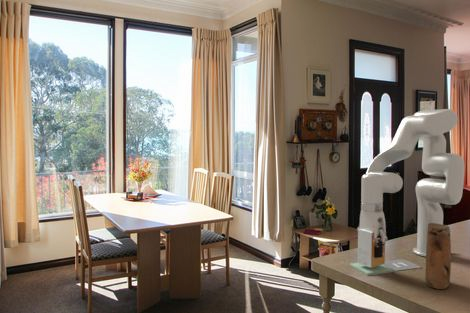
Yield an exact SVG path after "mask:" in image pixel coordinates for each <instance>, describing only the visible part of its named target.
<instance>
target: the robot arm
mask: <svg viewBox="0 0 470 313" xmlns="http://www.w3.org/2000/svg"><path fill="white" fill-rule="evenodd" d="M458 120H459V118H458V115H457V112H456V111H454V110H453V109H449V108H442V109H425V110H419V111H417V112H414V114H413V115H408V116H405V117H404V118H402V119H401V122H400V124H399V125H398V128H397V130H396V132H395V133H394V134H395V135H394V136H393V138H392V140H391V143H390V145H389V146H388V147H387V148H386V149H384V150H382V151H381V152H380V153H378V154H377V155H376V156H375V157H374V158H373V159H372V161H371V162H370V164H369V165H368V168H367V170H366V172H365V174H363V175H362V176H361V179H360V180H361V182H360V183H361V188H360V189H361V190H360V191H361V194H360V196H361V198H360V199H361V200H360V202H361V203H360V214H359V224H358V227H356V230H357V231H358V230H359V229H365V230H368V231H370V232H373V237H374V240H375V245H376V247H374V257H375V258H379V257H383V247H384V244H385V245H386V242H387V241H388V237H387V231H386V227H387V225H386V218H385V213H384V211H383V207H384V206H383V202H384V197H383V196H384V193H389V194H395V193H397V192H400V190H401V189H402V188H403V184H404V180H403V178H402V177H401V176H400V175H399V174H397V173H395V172H386V171H384V170H386V169H387V167H389V166H391V165H393V164H395V163H397V162H400V161H402V160H405V159H408V158H409V157H411V156H412V154H413V152H414V150H415V148H416V145H417V144H418V141H419V139H420V138H422V142H423V144H422V146H423V147H422V156H421V157H422V159H421V169H422V172H423V173H424V174H425V175H428V176H429V175H430V176H435V177H445V179H441V178H431V177H430V178H429V177H427V178H422V179H420V180H419V181H417V182H416V185H415V194H416V202H417V235H416V236H417V237H416V238H417V240H416V241H417V243H416V246H415V247H413V249H412V252H413V253H414V254H415V255H417V256H420V257H426V246H427V228H428V224H429V223H437V224H441V225H444V211H443V208H442V206H441V205H440V204H445V205H457V204H459V203H460V202H461V199H462V197H463V193H464V192H463V190H464V182H465V172H466V171H465V170H466V169H465V166H466V165H465V160H464V159H463V157H462V156H461V155H459V154H457V153H452V152H451V153H450V152H448V153H447V139H446V136H445V135H444V134H446V133H447V132H451V131H452V130H454V129H455V128H456V126H457V124H458ZM377 236H379V238H377ZM377 240H379V241H380V242H379V243H378V241H377Z"/></svg>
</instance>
